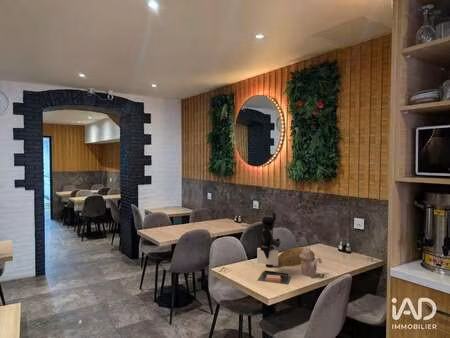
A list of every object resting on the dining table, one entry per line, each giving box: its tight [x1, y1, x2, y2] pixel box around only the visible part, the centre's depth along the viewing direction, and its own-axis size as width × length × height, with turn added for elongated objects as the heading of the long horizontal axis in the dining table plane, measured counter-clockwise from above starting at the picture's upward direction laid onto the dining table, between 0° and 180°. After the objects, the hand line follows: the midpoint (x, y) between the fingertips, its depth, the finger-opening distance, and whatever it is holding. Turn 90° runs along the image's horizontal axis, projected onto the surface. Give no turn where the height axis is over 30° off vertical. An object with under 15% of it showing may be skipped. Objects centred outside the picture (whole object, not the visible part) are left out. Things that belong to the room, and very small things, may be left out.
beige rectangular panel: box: [256, 247, 279, 267], centre depth 212 cm, size 2×14×10 cm, turn 71°
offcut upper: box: [266, 275, 280, 281], centre depth 200 cm, size 5×9×1 cm, turn 79°
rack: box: [256, 270, 292, 286], centre depth 205 cm, size 16×20×4 cm
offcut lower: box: [264, 276, 282, 285], centre depth 200 cm, size 6×10×1 cm, turn 71°
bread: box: [278, 246, 316, 267], centre depth 243 cm, size 36×11×10 cm, turn 120°
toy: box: [299, 246, 323, 279], centre depth 213 cm, size 9×18×20 cm, turn 117°
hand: (267, 258), depth 212 cm, fingers closed on beige rectangular panel, 2 cm apart
